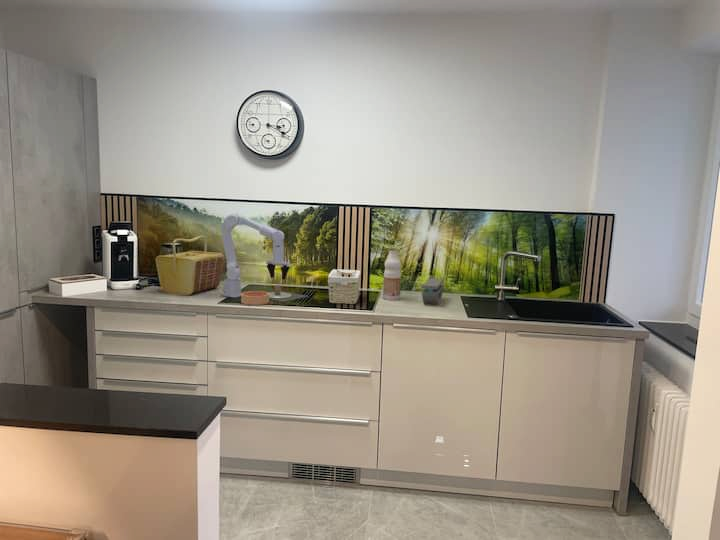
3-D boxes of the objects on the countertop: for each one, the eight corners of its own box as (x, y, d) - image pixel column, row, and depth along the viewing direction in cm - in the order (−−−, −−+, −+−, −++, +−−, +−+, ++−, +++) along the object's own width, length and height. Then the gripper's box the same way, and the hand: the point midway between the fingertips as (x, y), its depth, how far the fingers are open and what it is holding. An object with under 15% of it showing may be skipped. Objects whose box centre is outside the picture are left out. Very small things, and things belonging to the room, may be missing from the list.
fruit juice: (383, 300, 311) (385, 248, 307) (382, 296, 320) (384, 246, 316) (400, 300, 311) (403, 249, 307) (399, 297, 321) (401, 247, 316)
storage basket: (357, 305, 297) (358, 276, 295) (326, 303, 298) (326, 275, 296) (360, 296, 321) (361, 270, 319) (331, 294, 322) (332, 268, 320)
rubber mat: (252, 296, 310) (252, 295, 310) (278, 291, 326) (278, 290, 326) (283, 302, 297) (283, 301, 297) (308, 297, 313) (308, 295, 313)
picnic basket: (194, 297, 304) (193, 240, 300) (154, 292, 313) (153, 237, 309) (225, 288, 331) (225, 236, 327) (188, 284, 340) (187, 233, 336)
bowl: (235, 302, 294) (235, 293, 294) (255, 298, 306) (255, 290, 305) (255, 306, 286) (255, 297, 286) (274, 302, 298) (274, 293, 297)
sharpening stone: (436, 307, 298) (437, 286, 296) (421, 305, 300) (422, 285, 298) (442, 298, 321) (443, 279, 320) (428, 297, 324) (429, 278, 322)
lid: (257, 296, 307) (257, 286, 307) (274, 292, 321) (274, 282, 320) (281, 299, 301) (281, 289, 300) (296, 295, 314) (297, 285, 313)
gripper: (262, 253, 308) (262, 278, 310) (284, 255, 301) (284, 281, 303) (270, 251, 314) (270, 276, 316) (292, 254, 307) (292, 279, 309)
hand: (278, 278), depth 310 cm, fingers open, 7 cm apart
